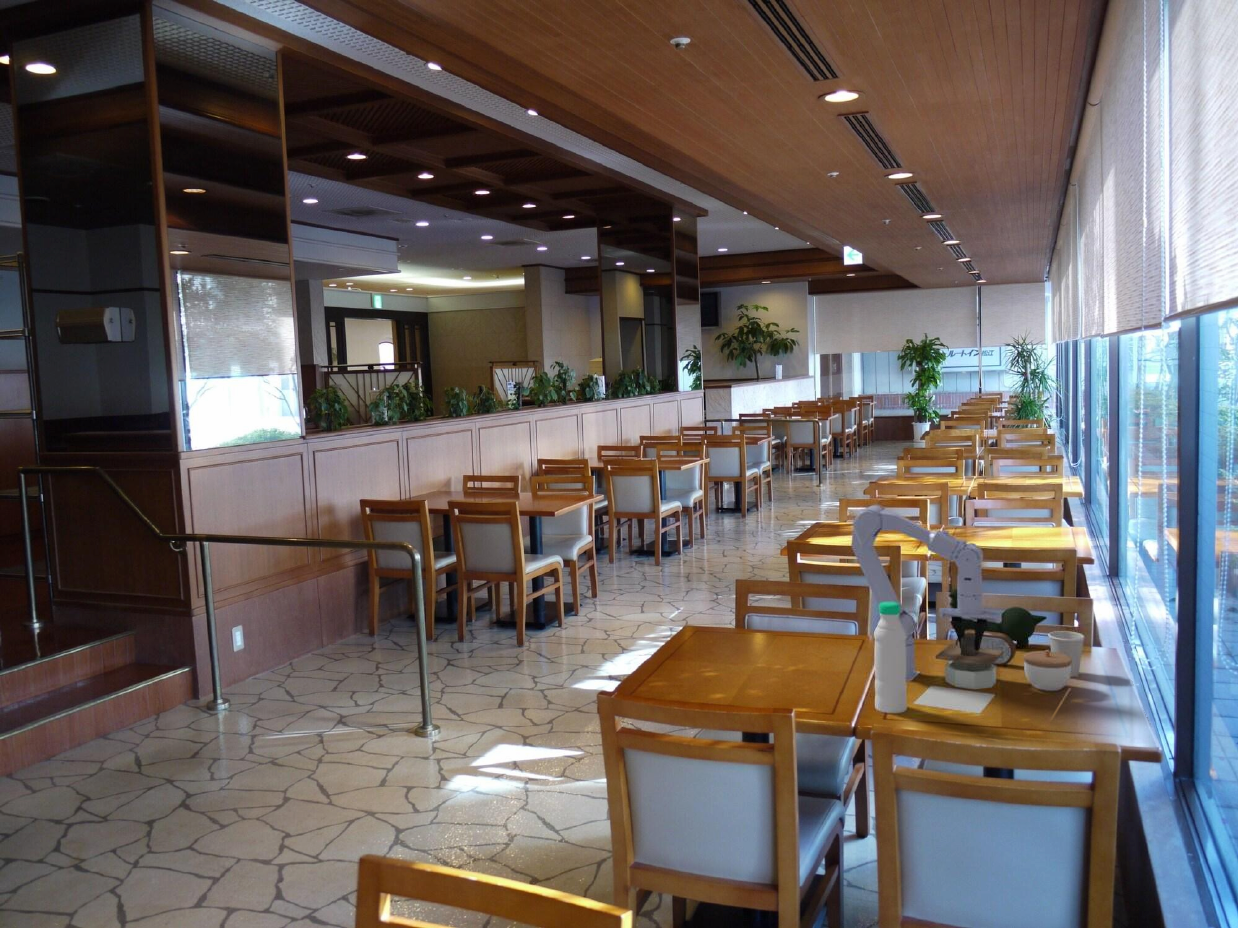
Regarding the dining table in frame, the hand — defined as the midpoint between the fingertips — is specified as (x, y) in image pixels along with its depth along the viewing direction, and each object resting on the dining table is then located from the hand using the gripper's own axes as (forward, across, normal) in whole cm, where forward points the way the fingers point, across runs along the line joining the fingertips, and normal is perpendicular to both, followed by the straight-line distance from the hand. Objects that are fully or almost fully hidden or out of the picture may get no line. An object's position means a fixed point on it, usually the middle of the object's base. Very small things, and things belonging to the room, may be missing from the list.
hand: (970, 648), depth 243 cm
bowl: (+9, 0, 0) cm, 9 cm away
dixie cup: (+9, +19, +18) cm, 28 cm away
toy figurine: (+9, -2, +38) cm, 40 cm away
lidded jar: (+9, +17, +4) cm, 20 cm away
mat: (+9, 0, -15) cm, 17 cm away
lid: (+2, 0, 0) cm, 2 cm away
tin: (+9, -1, +19) cm, 21 cm away
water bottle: (+9, -11, -28) cm, 31 cm away
